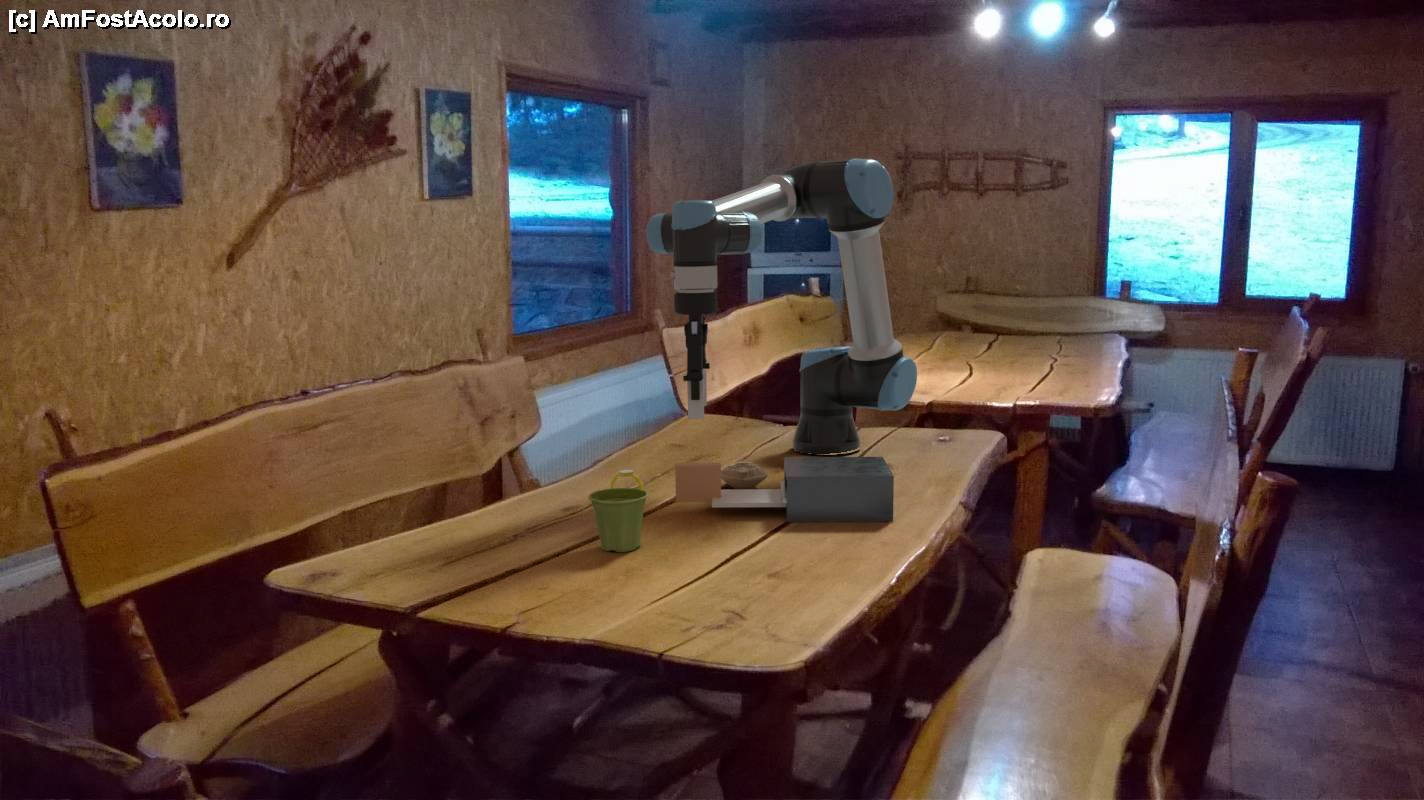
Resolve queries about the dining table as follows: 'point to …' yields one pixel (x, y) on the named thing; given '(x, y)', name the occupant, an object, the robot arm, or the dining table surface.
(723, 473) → the pottery oil lamp
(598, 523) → the plant pot
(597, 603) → the dining table surface
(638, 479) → the watch
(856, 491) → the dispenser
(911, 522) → the dining table surface
